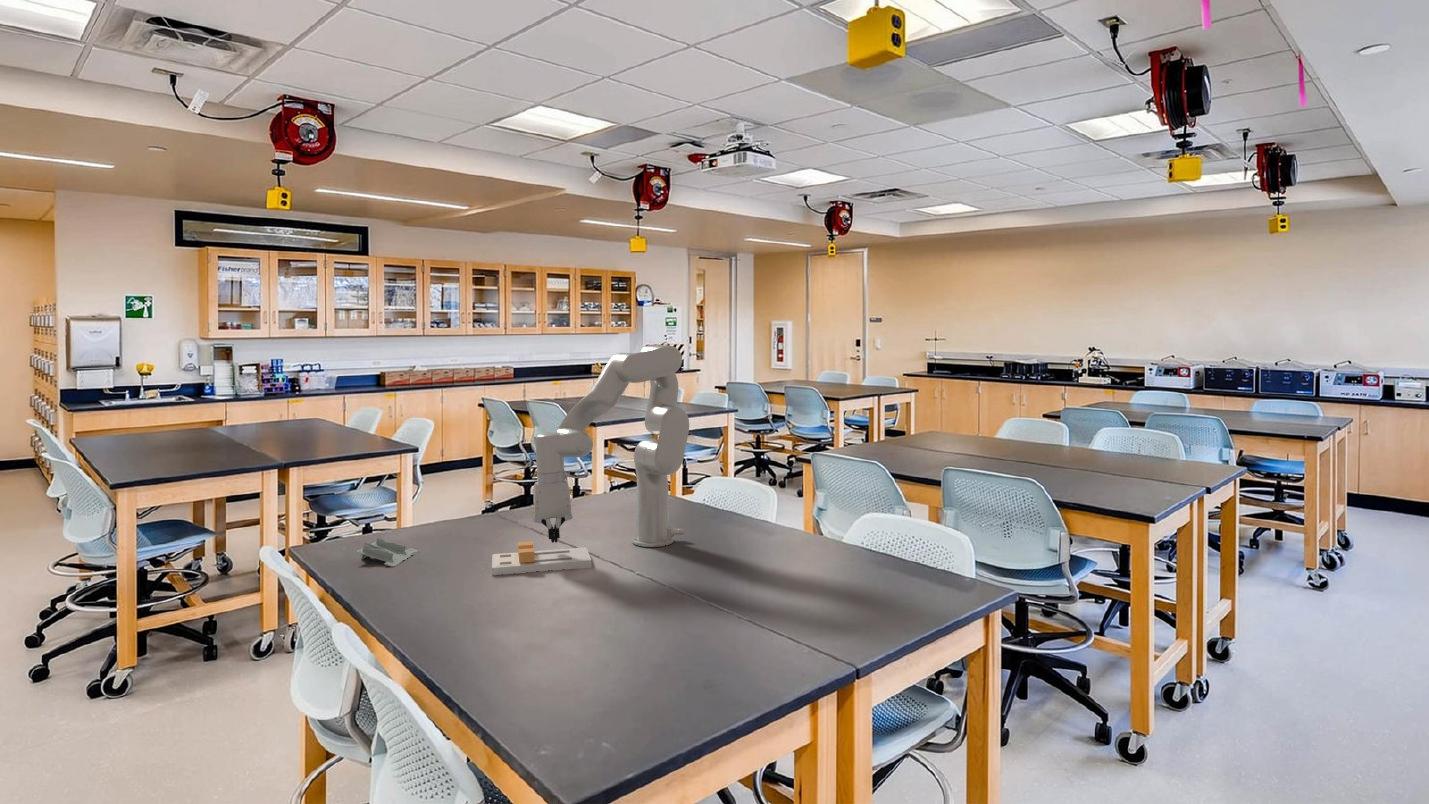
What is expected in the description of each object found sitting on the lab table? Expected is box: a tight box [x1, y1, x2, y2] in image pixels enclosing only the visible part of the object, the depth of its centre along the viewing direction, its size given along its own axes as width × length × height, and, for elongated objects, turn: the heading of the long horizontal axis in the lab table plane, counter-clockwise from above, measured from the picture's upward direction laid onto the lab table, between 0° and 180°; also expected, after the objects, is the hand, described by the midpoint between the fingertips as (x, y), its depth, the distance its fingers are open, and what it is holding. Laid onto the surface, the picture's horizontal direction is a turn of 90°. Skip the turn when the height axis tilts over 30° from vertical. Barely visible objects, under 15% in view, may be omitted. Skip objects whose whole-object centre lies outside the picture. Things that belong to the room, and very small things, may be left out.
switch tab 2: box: [519, 547, 535, 563], centre depth 205 cm, size 4×4×3 cm
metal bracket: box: [356, 537, 419, 568], centre depth 216 cm, size 14×6×15 cm
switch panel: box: [491, 547, 592, 576], centre depth 210 cm, size 26×13×2 cm, turn 106°
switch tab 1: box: [517, 540, 534, 556], centre depth 212 cm, size 4×4×3 cm
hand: (554, 541), depth 214 cm, fingers closed
